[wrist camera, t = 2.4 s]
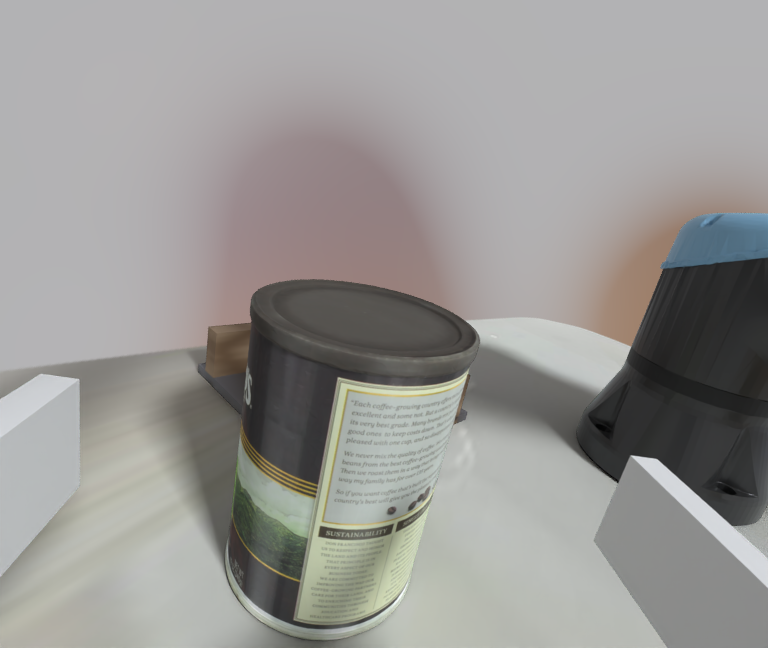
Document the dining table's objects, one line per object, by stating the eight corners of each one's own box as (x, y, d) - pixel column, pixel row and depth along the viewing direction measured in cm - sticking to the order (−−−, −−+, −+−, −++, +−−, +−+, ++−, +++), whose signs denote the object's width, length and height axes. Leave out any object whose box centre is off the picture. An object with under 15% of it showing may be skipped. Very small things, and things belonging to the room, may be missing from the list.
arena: (346, 347, 53) (353, 308, 51) (465, 419, 41) (478, 372, 40) (198, 371, 40) (201, 321, 38) (311, 485, 29) (323, 420, 27)
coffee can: (181, 608, 19) (201, 313, 15) (270, 470, 29) (298, 267, 25) (404, 674, 19) (492, 382, 14) (419, 510, 28) (474, 307, 24)
